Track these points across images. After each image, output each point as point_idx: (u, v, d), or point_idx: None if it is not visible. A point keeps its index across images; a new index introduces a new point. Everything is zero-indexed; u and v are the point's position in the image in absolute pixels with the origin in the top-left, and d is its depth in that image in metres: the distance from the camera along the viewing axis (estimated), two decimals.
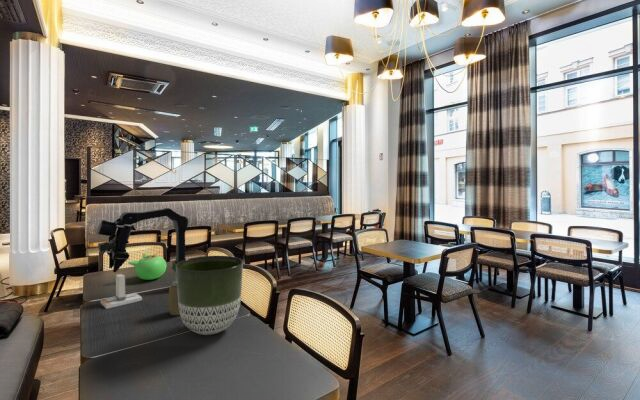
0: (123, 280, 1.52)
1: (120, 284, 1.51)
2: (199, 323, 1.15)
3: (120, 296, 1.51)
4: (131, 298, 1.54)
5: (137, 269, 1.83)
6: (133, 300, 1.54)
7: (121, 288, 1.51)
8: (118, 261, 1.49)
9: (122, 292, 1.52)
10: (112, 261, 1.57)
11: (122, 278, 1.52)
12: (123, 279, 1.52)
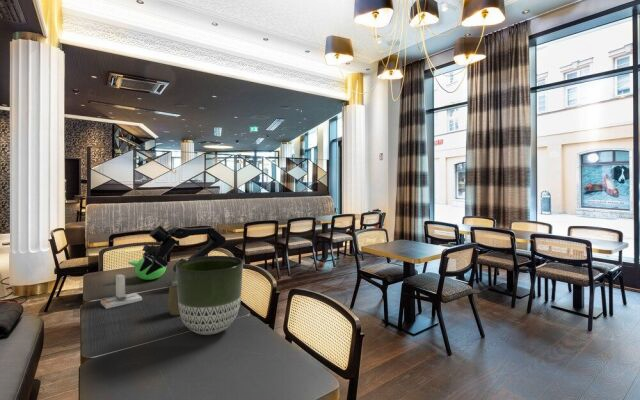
0: (123, 280, 1.52)
1: (120, 284, 1.51)
2: (199, 323, 1.15)
3: (120, 296, 1.51)
4: (131, 298, 1.54)
5: (137, 269, 1.83)
6: (133, 300, 1.54)
7: (121, 288, 1.51)
8: (155, 266, 1.59)
9: (122, 292, 1.52)
10: (144, 265, 1.65)
11: (122, 278, 1.52)
12: (123, 279, 1.52)
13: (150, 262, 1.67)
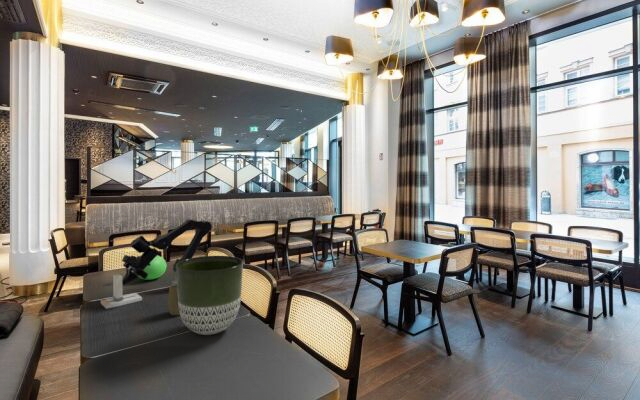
0: (120, 280, 1.51)
1: (117, 285, 1.50)
2: (199, 323, 1.15)
3: (117, 297, 1.50)
4: (131, 298, 1.54)
5: None
6: (133, 300, 1.54)
7: (118, 289, 1.51)
8: (131, 276, 1.55)
9: (119, 293, 1.51)
10: None
11: (119, 279, 1.51)
12: (120, 279, 1.51)
13: None
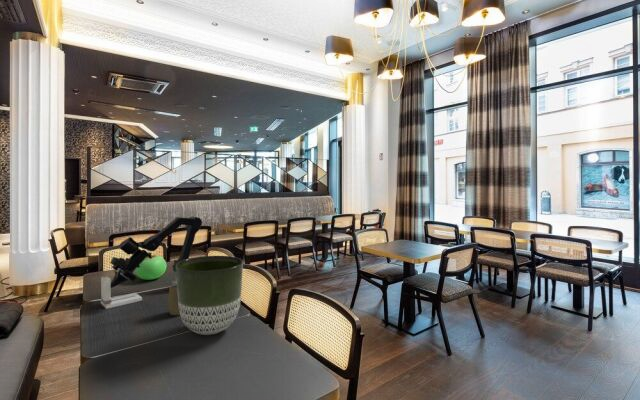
0: (109, 283, 1.48)
1: (105, 287, 1.47)
2: (199, 323, 1.15)
3: (105, 299, 1.47)
4: (131, 298, 1.54)
5: (137, 269, 1.83)
6: (133, 300, 1.54)
7: (106, 291, 1.47)
8: (119, 278, 1.52)
9: (107, 295, 1.47)
10: None
11: (107, 281, 1.47)
12: (109, 282, 1.48)
13: None
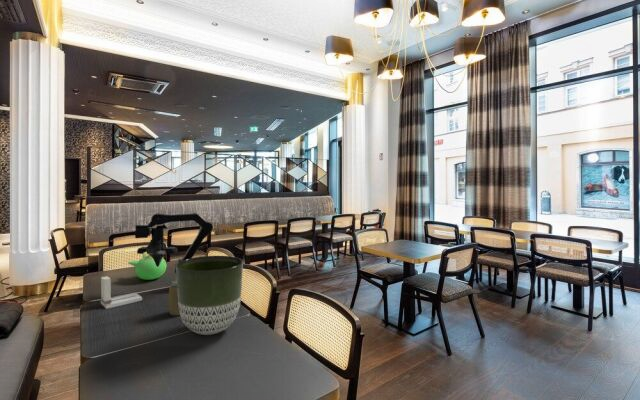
0: (109, 283, 1.48)
1: (105, 287, 1.47)
2: (199, 323, 1.15)
3: (105, 299, 1.47)
4: (131, 298, 1.54)
5: (137, 269, 1.83)
6: (133, 300, 1.54)
7: (106, 291, 1.47)
8: None
9: (107, 295, 1.47)
10: None
11: (107, 281, 1.47)
12: (109, 282, 1.48)
13: (157, 254, 1.71)
